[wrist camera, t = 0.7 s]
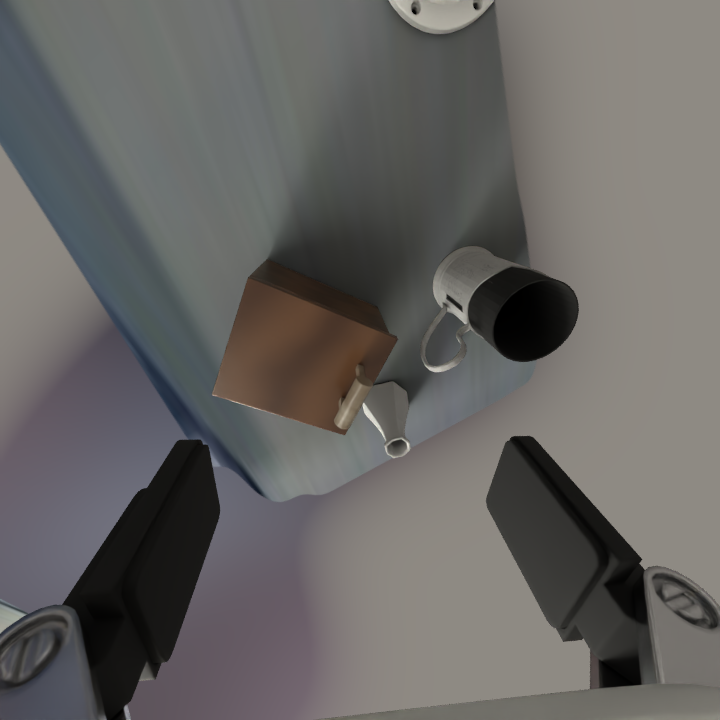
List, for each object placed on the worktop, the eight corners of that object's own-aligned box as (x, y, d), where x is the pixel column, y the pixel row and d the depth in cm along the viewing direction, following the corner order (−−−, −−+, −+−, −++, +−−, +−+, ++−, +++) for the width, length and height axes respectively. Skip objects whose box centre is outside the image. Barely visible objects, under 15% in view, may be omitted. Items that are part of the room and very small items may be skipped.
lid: (396, 336, 33) (407, 358, 28) (344, 431, 38) (346, 463, 33) (250, 275, 29) (234, 289, 24) (213, 391, 34) (195, 421, 29)
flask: (395, 372, 45) (411, 414, 36) (416, 406, 48) (436, 453, 39) (352, 396, 46) (358, 442, 37) (375, 427, 49) (386, 477, 40)
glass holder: (510, 289, 41) (597, 332, 28) (418, 349, 44) (457, 414, 30) (483, 230, 37) (568, 247, 24) (384, 300, 40) (411, 349, 27)
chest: (377, 307, 40) (389, 332, 33) (336, 389, 45) (337, 428, 38) (267, 259, 36) (250, 274, 29) (235, 355, 42) (214, 390, 34)
